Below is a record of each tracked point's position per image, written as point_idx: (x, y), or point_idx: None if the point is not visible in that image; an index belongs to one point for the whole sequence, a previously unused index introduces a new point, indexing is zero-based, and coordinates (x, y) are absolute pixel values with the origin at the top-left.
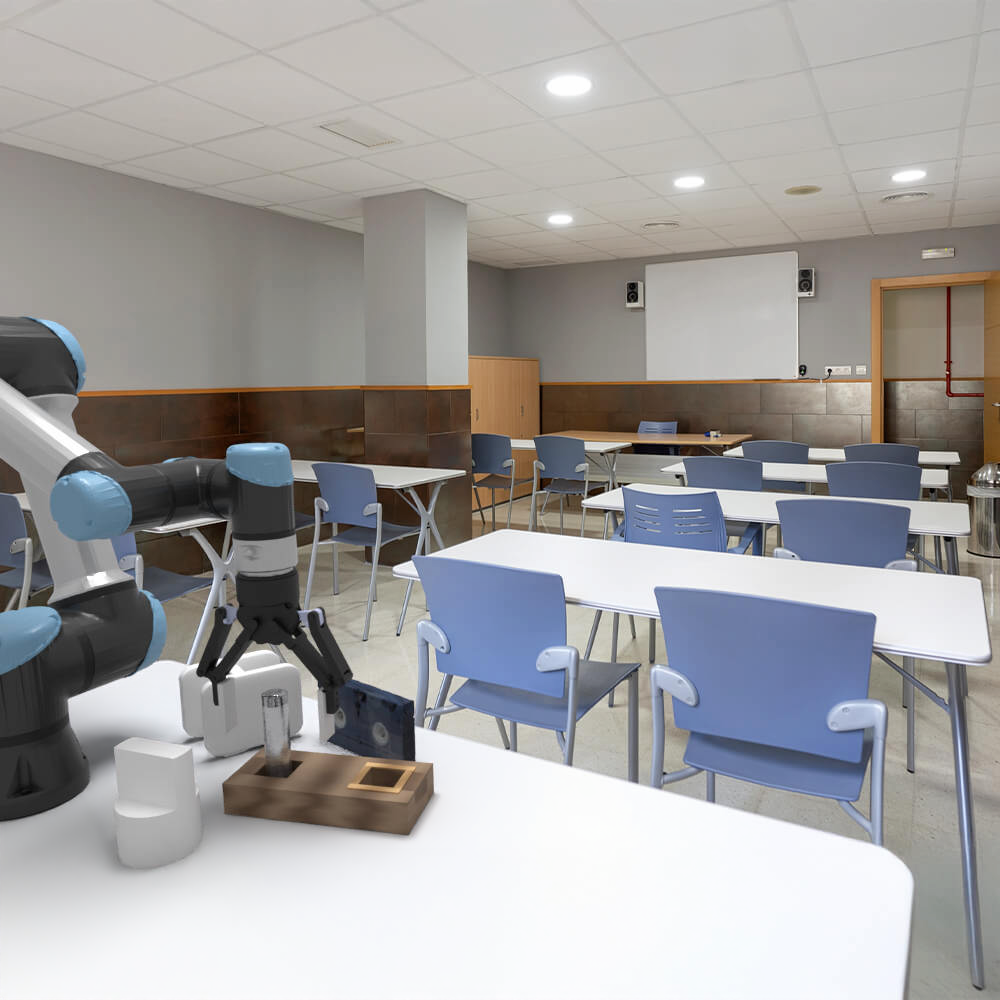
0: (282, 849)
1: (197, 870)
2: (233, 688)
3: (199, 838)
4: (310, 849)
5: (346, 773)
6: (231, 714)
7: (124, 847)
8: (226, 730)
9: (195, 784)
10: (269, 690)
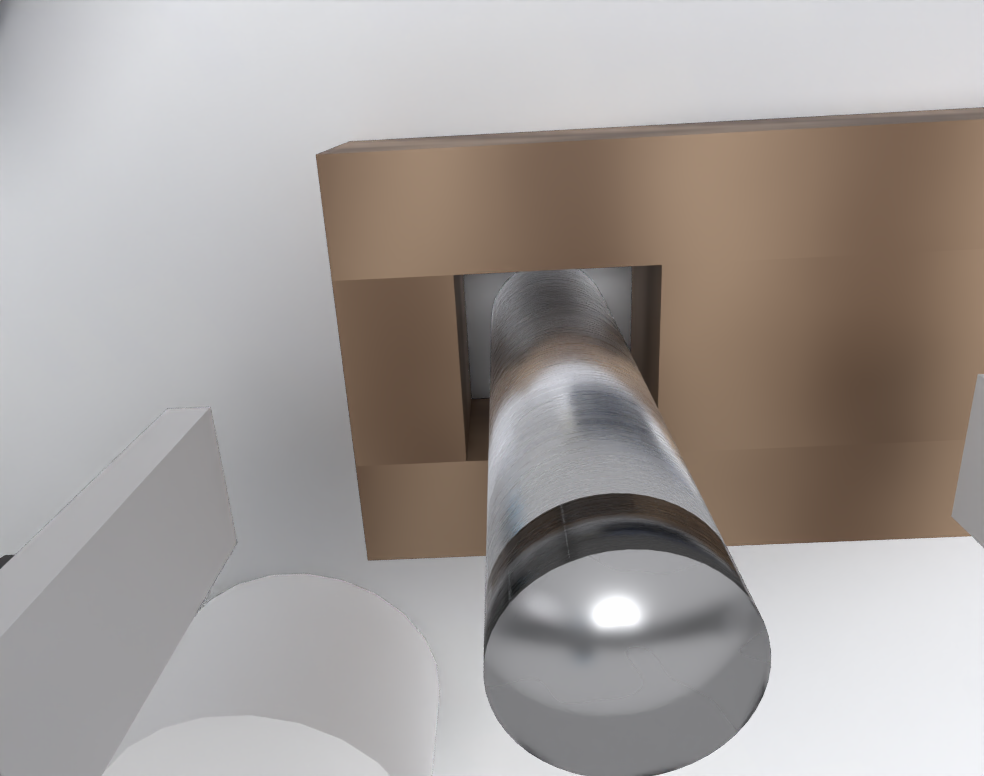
0: None
1: (517, 757)
2: (56, 611)
3: (430, 670)
4: (833, 602)
5: (961, 337)
6: (181, 530)
7: None
8: (229, 551)
9: (342, 746)
10: (521, 613)
